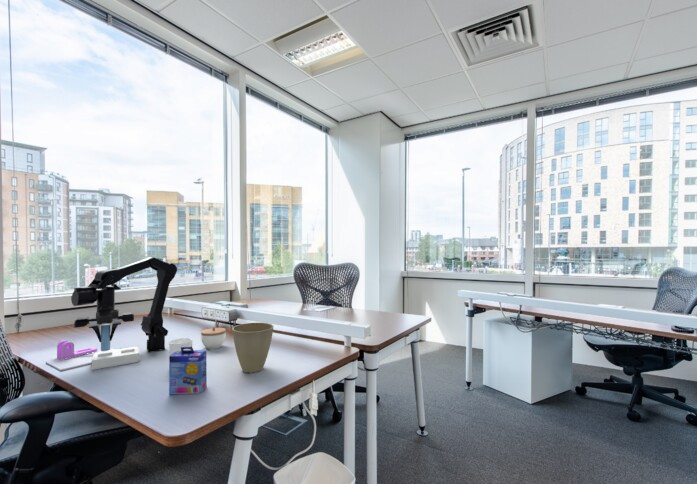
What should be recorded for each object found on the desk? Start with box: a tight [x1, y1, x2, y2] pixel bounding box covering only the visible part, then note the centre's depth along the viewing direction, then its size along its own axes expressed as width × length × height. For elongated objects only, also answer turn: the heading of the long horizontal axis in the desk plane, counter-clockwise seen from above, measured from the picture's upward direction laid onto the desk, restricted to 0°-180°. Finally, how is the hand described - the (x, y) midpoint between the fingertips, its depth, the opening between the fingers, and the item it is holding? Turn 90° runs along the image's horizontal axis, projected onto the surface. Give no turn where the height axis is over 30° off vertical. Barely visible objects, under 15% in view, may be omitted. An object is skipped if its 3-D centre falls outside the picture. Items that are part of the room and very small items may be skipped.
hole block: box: [91, 345, 140, 371], centre depth 130 cm, size 15×11×4 cm
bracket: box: [56, 339, 98, 360], centre depth 140 cm, size 13×6×7 cm, turn 151°
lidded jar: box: [200, 326, 227, 350], centre depth 149 cm, size 11×11×9 cm
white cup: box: [168, 337, 193, 356], centre depth 124 cm, size 8×8×10 cm
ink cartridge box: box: [168, 346, 208, 395], centre depth 103 cm, size 10×6×14 cm, turn 95°
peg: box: [100, 323, 111, 352], centre depth 128 cm, size 3×3×10 cm
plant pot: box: [232, 322, 274, 374], centre depth 121 cm, size 15×15×16 cm
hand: (105, 341), depth 128 cm, fingers closed on peg, 3 cm apart
